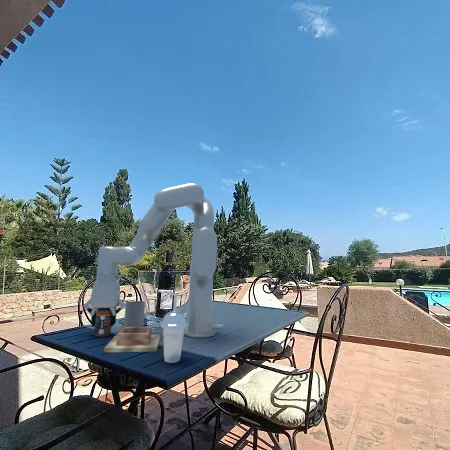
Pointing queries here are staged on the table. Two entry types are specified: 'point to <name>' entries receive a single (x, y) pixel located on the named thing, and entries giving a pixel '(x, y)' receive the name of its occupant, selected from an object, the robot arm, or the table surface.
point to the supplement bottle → (103, 322)
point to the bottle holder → (134, 340)
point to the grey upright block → (134, 314)
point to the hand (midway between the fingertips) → (103, 325)
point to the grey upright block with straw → (173, 332)
